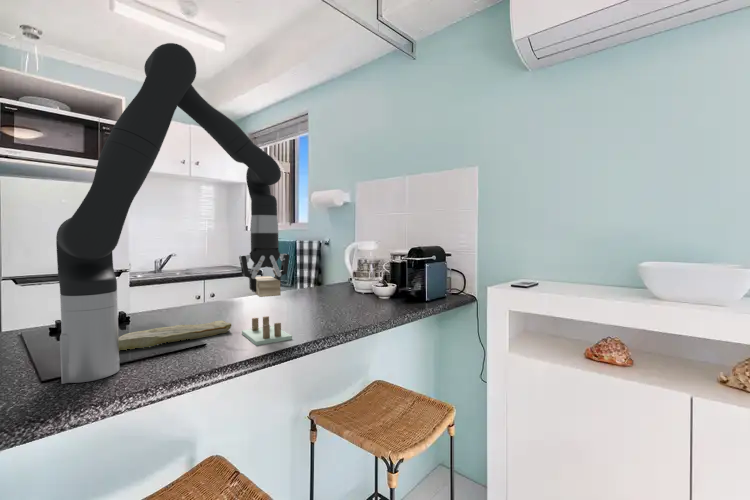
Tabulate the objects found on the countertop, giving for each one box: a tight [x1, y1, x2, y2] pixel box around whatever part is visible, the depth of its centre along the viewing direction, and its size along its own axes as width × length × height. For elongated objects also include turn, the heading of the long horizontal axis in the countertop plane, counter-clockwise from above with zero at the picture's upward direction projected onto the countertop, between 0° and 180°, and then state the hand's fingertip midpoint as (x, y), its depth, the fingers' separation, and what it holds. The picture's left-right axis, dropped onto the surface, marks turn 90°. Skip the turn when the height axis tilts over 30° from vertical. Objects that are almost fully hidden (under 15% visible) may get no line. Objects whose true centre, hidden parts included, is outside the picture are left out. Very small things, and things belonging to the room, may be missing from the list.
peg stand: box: [241, 315, 293, 346], centre depth 104 cm, size 14×10×4 cm
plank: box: [253, 275, 282, 298], centre depth 103 cm, size 14×6×4 cm, turn 27°
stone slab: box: [118, 320, 232, 352], centre depth 103 cm, size 12×4×30 cm
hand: (265, 290), depth 103 cm, fingers closed on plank, 6 cm apart
